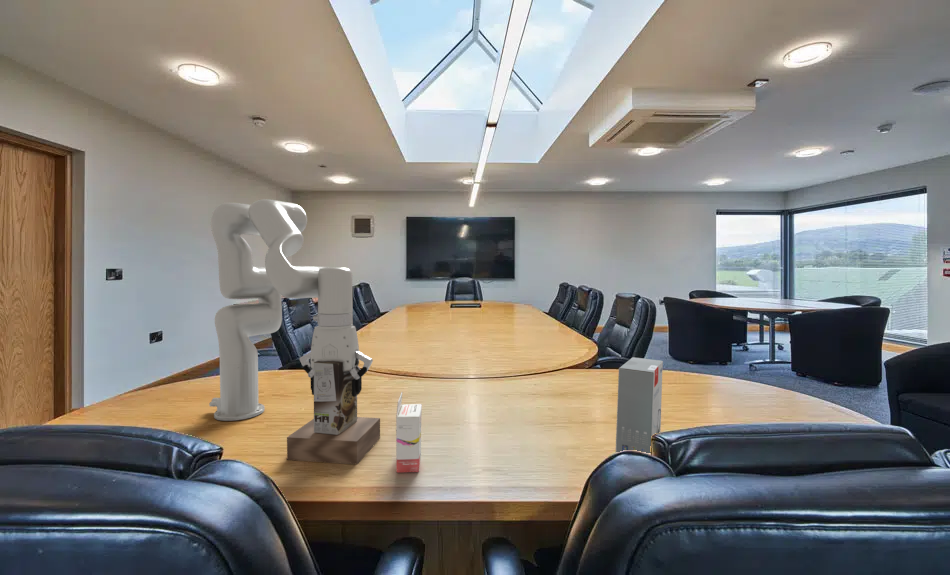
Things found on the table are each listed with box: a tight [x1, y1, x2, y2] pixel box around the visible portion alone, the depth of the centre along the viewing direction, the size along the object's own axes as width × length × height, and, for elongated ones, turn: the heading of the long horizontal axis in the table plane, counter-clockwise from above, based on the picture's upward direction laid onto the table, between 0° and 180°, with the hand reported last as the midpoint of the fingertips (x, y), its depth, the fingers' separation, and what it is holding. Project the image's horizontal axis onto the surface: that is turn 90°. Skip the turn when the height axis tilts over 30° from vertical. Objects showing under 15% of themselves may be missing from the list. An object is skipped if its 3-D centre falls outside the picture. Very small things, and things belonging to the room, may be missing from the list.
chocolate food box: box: [313, 361, 358, 435], centre depth 95 cm, size 9×6×16 cm
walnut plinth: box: [286, 416, 381, 465], centre depth 95 cm, size 16×14×5 cm
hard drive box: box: [615, 356, 664, 453], centre depth 97 cm, size 16×8×20 cm, turn 148°
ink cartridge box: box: [395, 391, 423, 474], centre depth 88 cm, size 9×5×15 cm, turn 5°
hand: (336, 394), depth 95 cm, fingers open, 9 cm apart
